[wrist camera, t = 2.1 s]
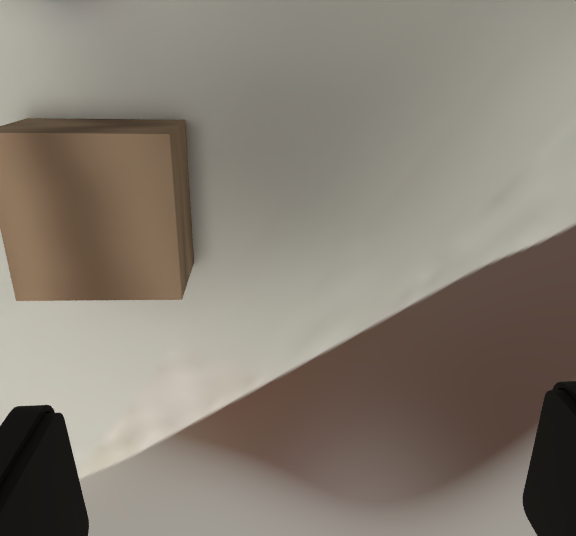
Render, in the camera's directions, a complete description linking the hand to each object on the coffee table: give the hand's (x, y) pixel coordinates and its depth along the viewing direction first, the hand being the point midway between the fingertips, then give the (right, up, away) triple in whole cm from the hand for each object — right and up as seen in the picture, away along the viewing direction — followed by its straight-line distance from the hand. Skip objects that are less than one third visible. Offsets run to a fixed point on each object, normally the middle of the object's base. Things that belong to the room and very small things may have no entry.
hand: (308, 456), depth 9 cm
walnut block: (-10, +8, +19) cm, 22 cm away
